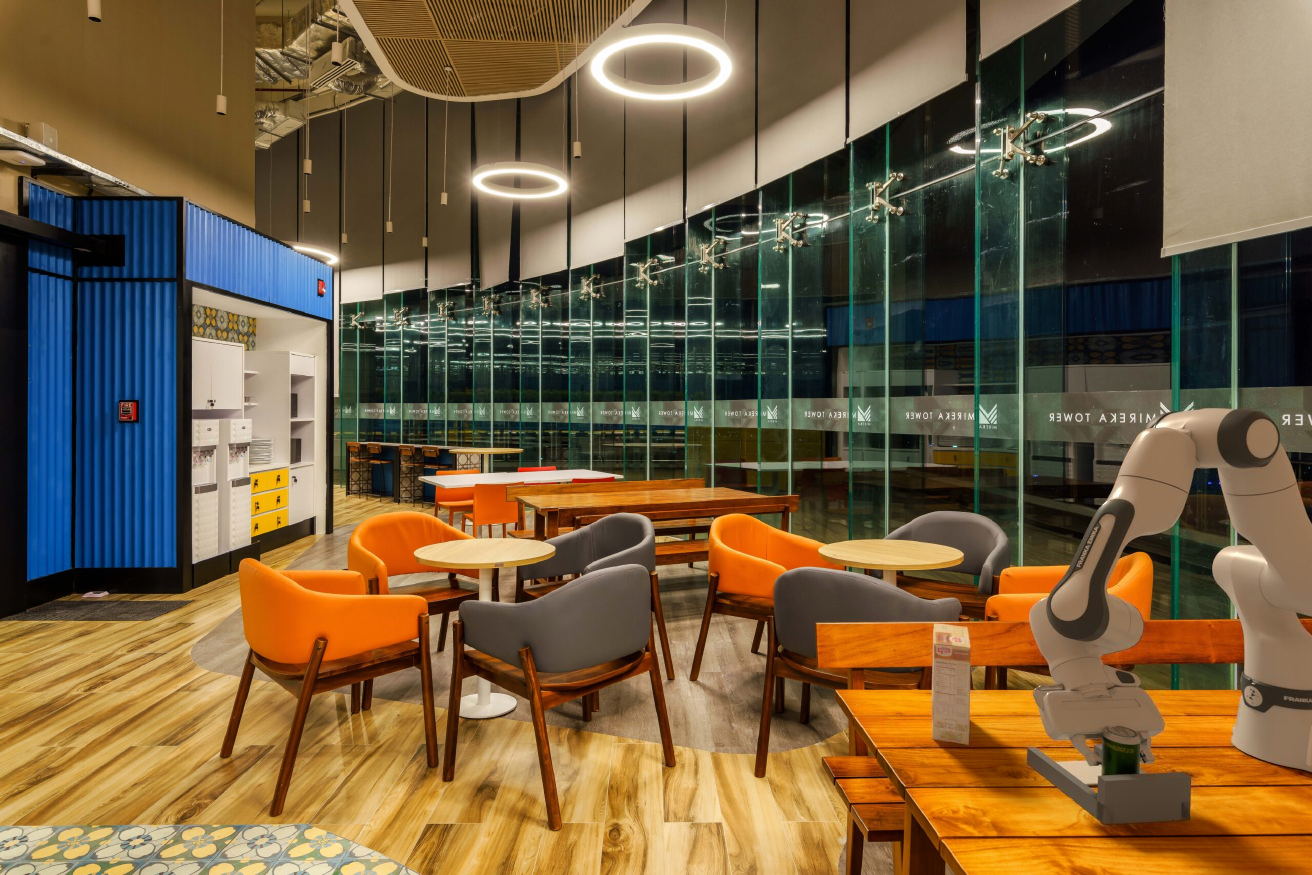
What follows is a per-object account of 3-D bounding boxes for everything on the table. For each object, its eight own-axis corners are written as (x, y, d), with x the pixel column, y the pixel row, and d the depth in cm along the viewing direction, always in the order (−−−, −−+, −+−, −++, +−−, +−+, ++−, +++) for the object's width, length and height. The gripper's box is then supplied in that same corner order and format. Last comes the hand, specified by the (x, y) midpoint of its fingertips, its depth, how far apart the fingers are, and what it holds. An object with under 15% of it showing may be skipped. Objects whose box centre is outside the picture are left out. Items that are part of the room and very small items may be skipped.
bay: (1101, 759, 136) (1102, 723, 135) (1190, 819, 116) (1191, 776, 115) (1026, 763, 134) (1027, 726, 134) (1103, 824, 114) (1105, 780, 114)
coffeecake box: (931, 710, 158) (933, 622, 157) (966, 716, 155) (968, 626, 154) (930, 739, 144) (932, 642, 143) (969, 745, 141) (972, 647, 140)
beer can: (1145, 811, 118) (1147, 739, 117) (1109, 809, 119) (1111, 737, 118) (1128, 794, 123) (1130, 725, 123) (1094, 792, 124) (1096, 723, 124)
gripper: (1037, 677, 126) (1073, 759, 117) (1145, 674, 128) (1189, 754, 119) (1021, 692, 131) (1054, 772, 121) (1126, 689, 133) (1167, 767, 123)
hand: (1122, 763), depth 120 cm, fingers open, 8 cm apart
